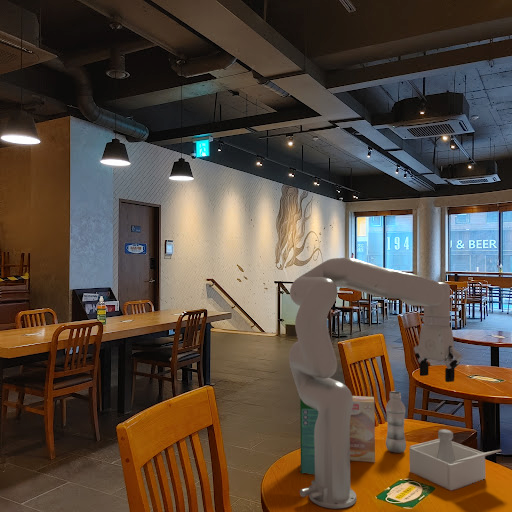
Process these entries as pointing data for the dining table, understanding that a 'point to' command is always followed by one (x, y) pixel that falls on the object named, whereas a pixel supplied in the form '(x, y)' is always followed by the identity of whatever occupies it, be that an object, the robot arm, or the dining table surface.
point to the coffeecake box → (362, 429)
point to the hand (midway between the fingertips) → (436, 378)
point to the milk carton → (307, 437)
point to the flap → (477, 456)
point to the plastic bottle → (395, 423)
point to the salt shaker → (445, 446)
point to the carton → (446, 465)
